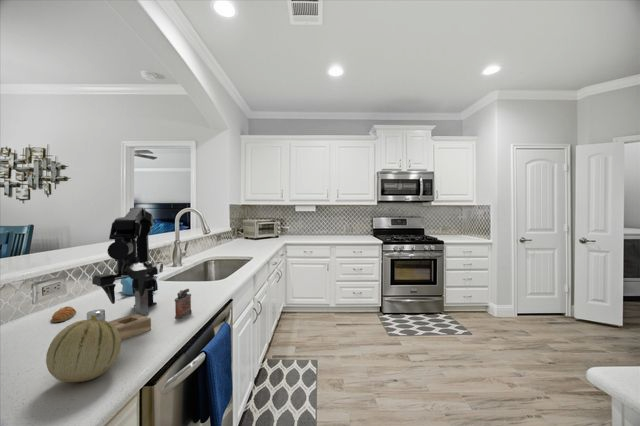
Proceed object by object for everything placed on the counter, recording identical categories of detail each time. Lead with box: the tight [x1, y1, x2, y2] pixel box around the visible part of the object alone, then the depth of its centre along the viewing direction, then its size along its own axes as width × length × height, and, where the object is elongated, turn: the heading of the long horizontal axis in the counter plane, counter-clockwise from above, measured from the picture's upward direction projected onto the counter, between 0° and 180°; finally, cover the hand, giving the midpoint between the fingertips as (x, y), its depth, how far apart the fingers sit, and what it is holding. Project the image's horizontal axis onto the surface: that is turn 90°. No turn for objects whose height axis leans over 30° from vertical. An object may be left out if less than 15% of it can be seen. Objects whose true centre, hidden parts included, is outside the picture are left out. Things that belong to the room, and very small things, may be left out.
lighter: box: [174, 288, 192, 320], centre depth 117 cm, size 8×3×10 cm, turn 168°
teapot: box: [119, 275, 159, 296], centre depth 151 cm, size 15×15×11 cm
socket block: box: [108, 313, 152, 342], centre depth 101 cm, size 10×10×4 cm
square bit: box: [134, 290, 149, 317], centre depth 117 cm, size 3×3×10 cm
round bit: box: [86, 308, 106, 321], centre depth 105 cm, size 5×5×6 cm
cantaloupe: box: [45, 315, 122, 383], centre depth 74 cm, size 15×15×15 cm
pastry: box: [51, 306, 77, 323], centre depth 114 cm, size 9×7×4 cm
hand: (127, 299), depth 101 cm, fingers open, 9 cm apart
